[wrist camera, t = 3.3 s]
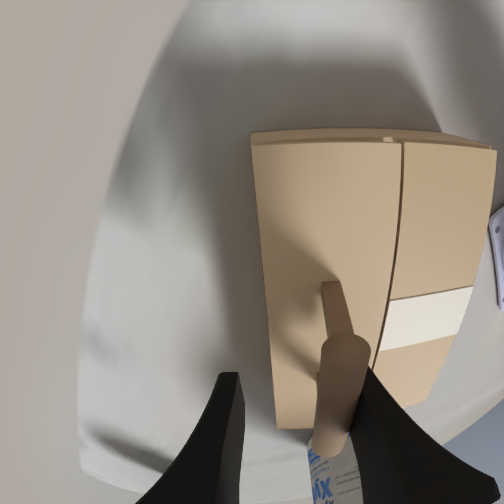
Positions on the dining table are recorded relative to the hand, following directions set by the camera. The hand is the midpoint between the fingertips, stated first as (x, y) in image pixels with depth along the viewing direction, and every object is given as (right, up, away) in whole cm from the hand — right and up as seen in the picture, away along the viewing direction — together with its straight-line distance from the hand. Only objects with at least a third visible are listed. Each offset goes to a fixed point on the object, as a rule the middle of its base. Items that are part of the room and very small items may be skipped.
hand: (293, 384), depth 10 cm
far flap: (+2, +1, +2) cm, 3 cm away
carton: (+4, +3, +6) cm, 8 cm away
